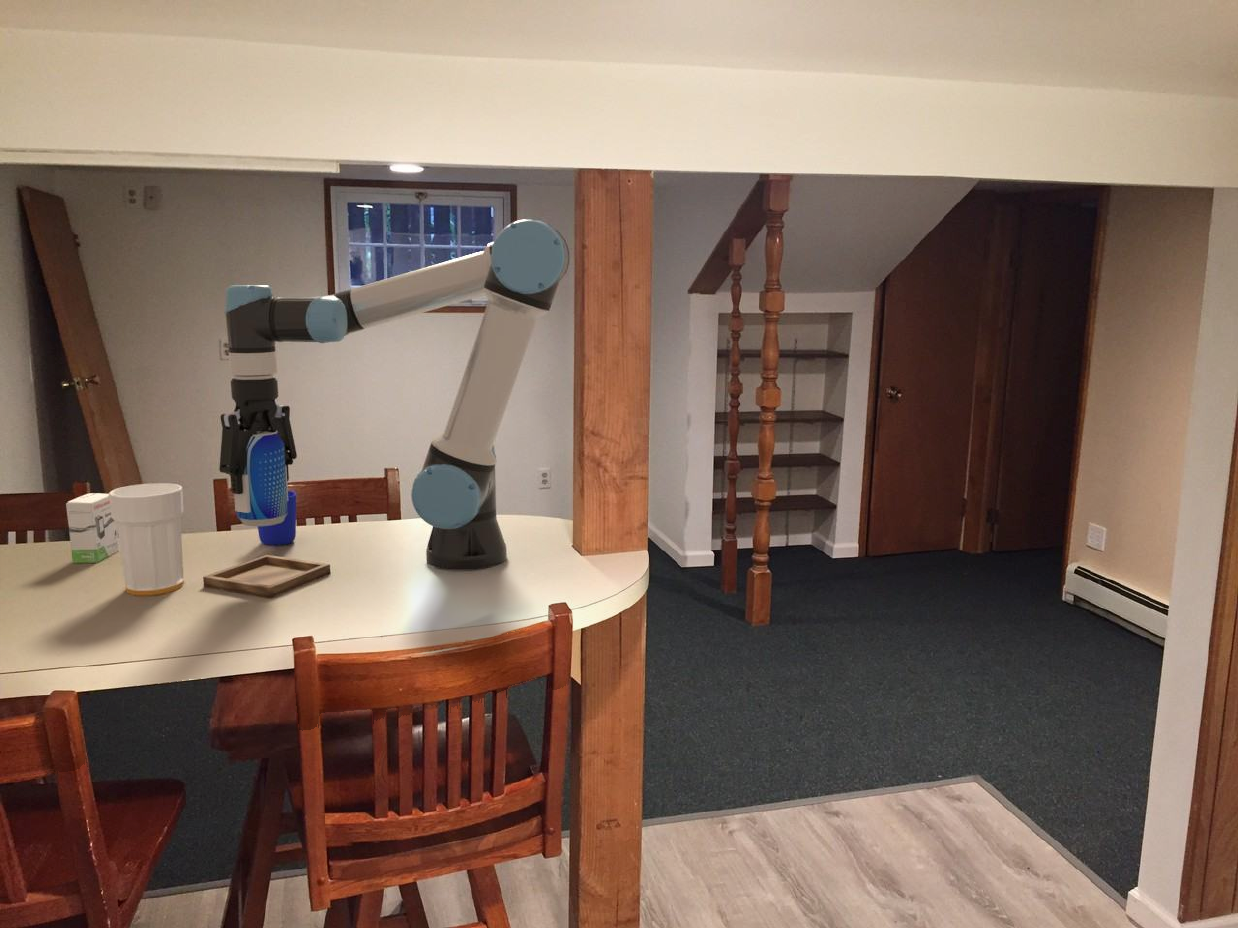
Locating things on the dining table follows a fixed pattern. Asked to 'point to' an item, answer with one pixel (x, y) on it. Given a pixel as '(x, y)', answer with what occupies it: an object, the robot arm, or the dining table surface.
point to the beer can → (265, 480)
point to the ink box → (91, 528)
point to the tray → (267, 576)
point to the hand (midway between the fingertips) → (262, 505)
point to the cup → (149, 536)
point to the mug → (281, 527)
